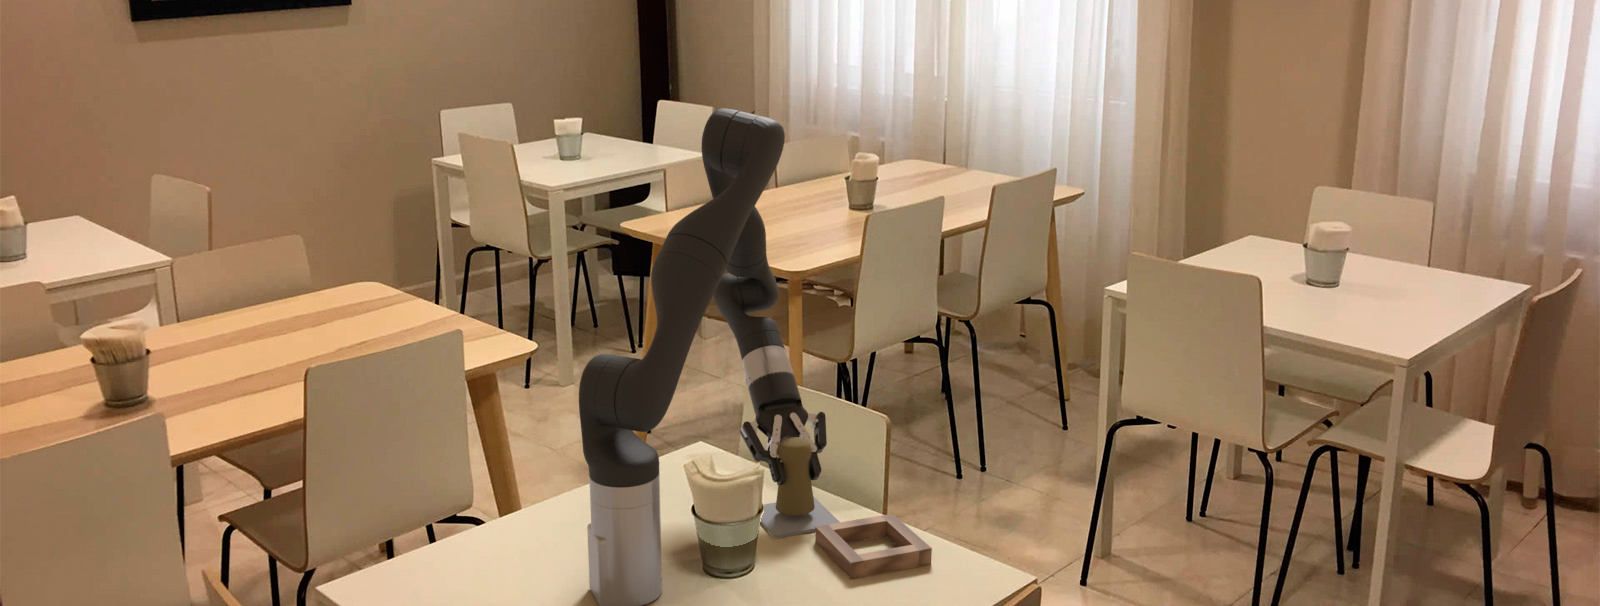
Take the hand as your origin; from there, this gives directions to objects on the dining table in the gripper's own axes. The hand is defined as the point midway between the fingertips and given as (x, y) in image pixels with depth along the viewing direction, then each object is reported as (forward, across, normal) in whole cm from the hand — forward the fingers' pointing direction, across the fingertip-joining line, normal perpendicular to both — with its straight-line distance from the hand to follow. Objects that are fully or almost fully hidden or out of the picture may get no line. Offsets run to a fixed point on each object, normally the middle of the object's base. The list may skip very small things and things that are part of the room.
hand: (798, 480), depth 196 cm
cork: (+2, 0, +5) cm, 6 cm away
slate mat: (+4, 0, +6) cm, 7 cm away
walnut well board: (+14, +6, -5) cm, 16 cm away
